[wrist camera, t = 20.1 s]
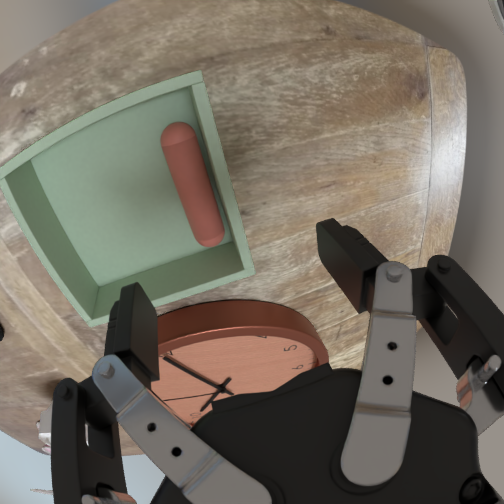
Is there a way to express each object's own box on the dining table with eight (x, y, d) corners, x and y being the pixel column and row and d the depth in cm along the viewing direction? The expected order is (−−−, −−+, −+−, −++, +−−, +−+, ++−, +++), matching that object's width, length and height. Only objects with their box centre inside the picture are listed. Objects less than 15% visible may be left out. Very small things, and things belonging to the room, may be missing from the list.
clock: (311, 410, 47) (153, 442, 41) (304, 394, 50) (151, 424, 44) (351, 298, 29) (67, 348, 23) (335, 276, 32) (73, 321, 26)
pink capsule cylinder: (160, 125, 18) (151, 132, 16) (193, 114, 18) (188, 120, 16) (200, 238, 25) (197, 256, 23) (228, 232, 24) (228, 249, 22)
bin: (23, 153, 16) (-7, 172, 12) (195, 74, 17) (201, 69, 13) (98, 291, 25) (90, 328, 21) (241, 241, 26) (256, 274, 22)
